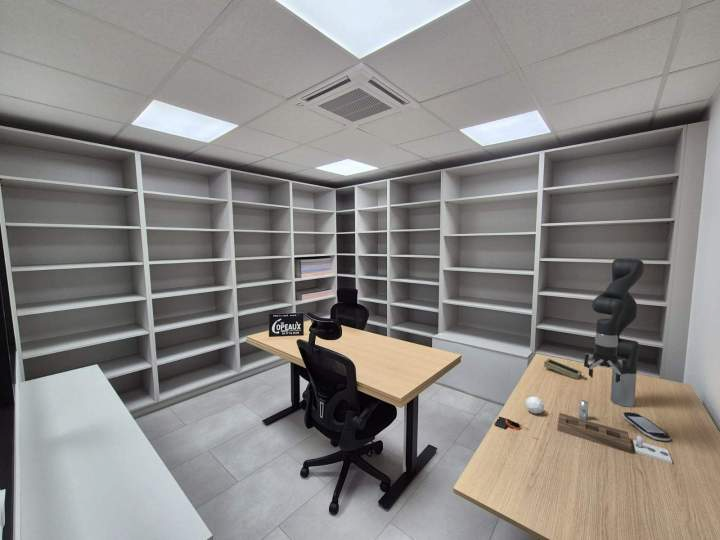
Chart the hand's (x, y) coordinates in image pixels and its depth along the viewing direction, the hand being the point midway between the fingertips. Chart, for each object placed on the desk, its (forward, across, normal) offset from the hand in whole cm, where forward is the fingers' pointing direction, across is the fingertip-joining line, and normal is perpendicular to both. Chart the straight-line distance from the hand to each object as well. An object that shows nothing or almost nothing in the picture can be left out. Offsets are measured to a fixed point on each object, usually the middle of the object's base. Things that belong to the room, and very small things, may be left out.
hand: (603, 379), depth 130 cm
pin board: (+22, +4, +8) cm, 24 cm away
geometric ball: (+23, +25, +2) cm, 34 cm away
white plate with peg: (+23, -15, +8) cm, 28 cm away
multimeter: (+23, +30, +20) cm, 43 cm away
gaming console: (+24, -16, -12) cm, 31 cm away
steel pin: (+23, +6, -5) cm, 24 cm away
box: (+24, +14, -58) cm, 64 cm away
